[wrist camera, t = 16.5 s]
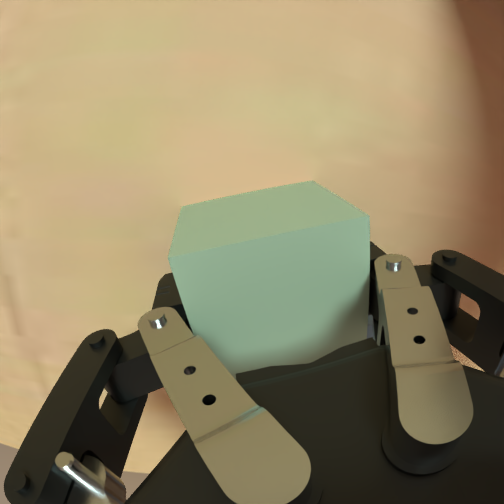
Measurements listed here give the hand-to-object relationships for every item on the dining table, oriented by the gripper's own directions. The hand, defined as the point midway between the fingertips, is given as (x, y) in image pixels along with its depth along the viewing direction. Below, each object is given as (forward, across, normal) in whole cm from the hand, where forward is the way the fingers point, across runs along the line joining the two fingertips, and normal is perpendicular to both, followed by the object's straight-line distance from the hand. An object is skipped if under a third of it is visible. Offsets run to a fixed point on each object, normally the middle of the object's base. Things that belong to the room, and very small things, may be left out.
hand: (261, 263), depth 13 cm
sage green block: (+1, 0, 0) cm, 1 cm away
